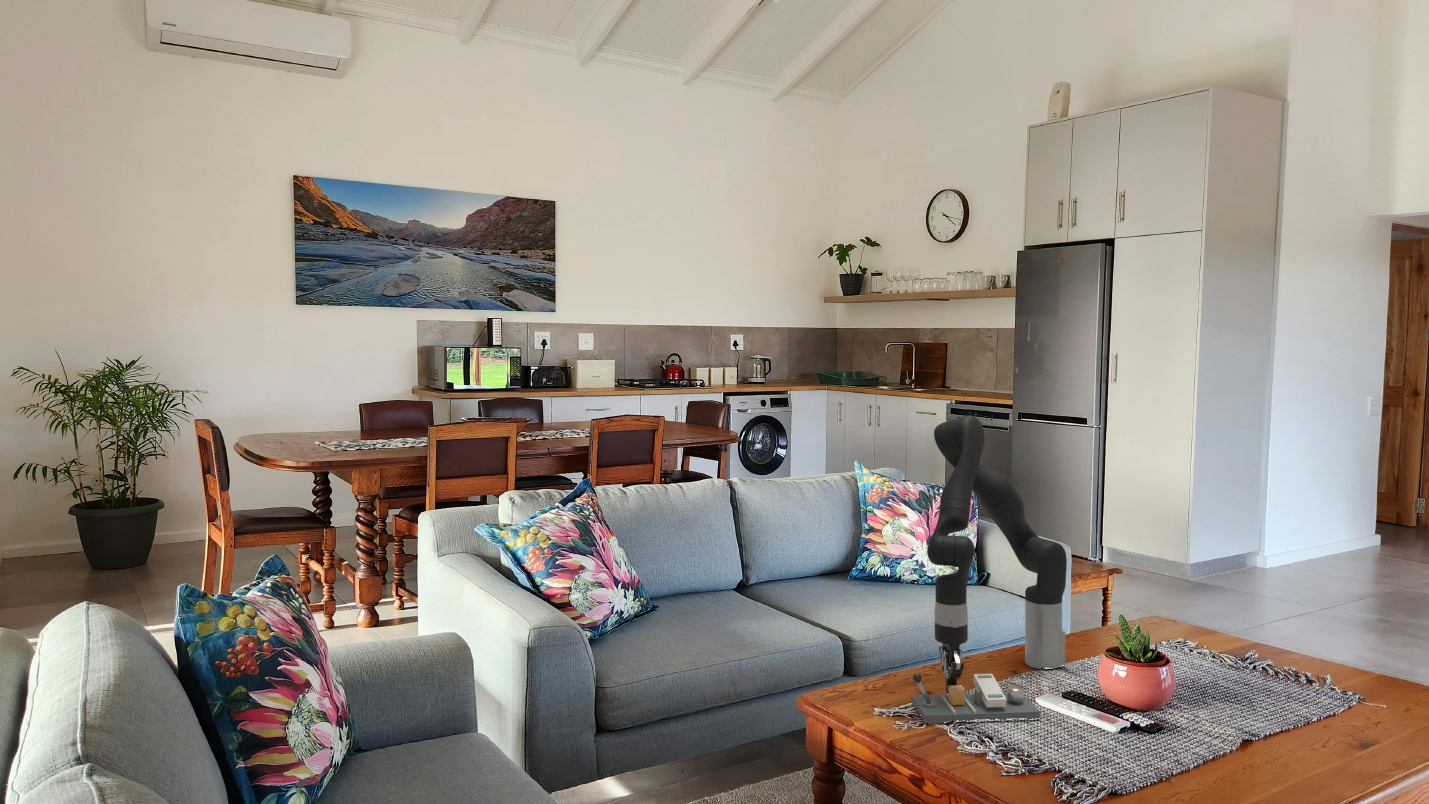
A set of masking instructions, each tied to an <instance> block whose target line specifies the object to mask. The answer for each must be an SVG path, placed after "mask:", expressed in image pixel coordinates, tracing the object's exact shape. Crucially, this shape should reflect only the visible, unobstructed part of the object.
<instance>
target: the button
mask: <svg viewBox="0 0 1429 804" xmlns="http://www.w3.org/2000/svg"><path fill="white" fill-rule="evenodd" d="M1006 693H1007V701H1008V702H1010V703H1013V704H1021V703H1023V695H1024V687H1022V686H1020V685H1014V684H1012V685H1008V686H1006Z"/></svg>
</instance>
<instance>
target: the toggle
mask: <svg viewBox="0 0 1429 804" xmlns="http://www.w3.org/2000/svg"><path fill="white" fill-rule="evenodd" d="M922 680H923V679H922V674H920V673H915V674H914V675H913V676H912V681H913V682H914V683H916V684H917V686H918V688H919V690H920V692H921V694H922V695H923V696H924V698H925V700H926V702H927V703H928V704H930V703H931V701H930V698H929V696H928V695H929V694H928V692H927V690H926V688H925V686H924V685H923V682H922Z"/></svg>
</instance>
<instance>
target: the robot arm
mask: <svg viewBox="0 0 1429 804" xmlns="http://www.w3.org/2000/svg"><path fill="white" fill-rule="evenodd" d="M933 437H934V441H935V444H936V446H937V448H938V450H939V451H940V453H941V454H942V456H943V457H944V458H945V459H946V461H947V462H948V463H949V464H950V465H951V467H953V469H954V470H953V472H952V473H951V475H950V477H949V478H948V480H947V482H946V483H945V485H944V487H943V489H942V492H941V495H940V502H939V511H938V518H937V520H936V521H937V522H936V525H935V527H934V530H933V533H932V534H931V536H930V538H929V541H928V544H927V547H926V555H927V558H928V560H929V561H930V563H931V564H933V565H936V566H945V567H957V568H958V569H957V570H956V571H954V572H953V573H952V572H951V573H947V574H941V575H938V576H937V577H936V579H935V605H934V639H935V641H937V642H938V643H940V644H942V645H939V647H938V650H939V658H940V661H941V670H942V671H943V672H944V675H943V676H944V677H945V692H946V693H947V695H949V686H948V685H958V684H957V683H958V682H957V681H958V679H959V680H960V679H961V677H962V673H963V670H964V668H965V663H964V661H961V659H962V657H963V655H962V654H963V653H962V652H963V651H962V650H961V647H960V646H961V645H963V644H966V643H967V641H968V640H969V638H968V637H969V636H968V635H969V632H968V631H969V629H968V626H969V621H968V618H969V616H968V615H969V614H968V613H969V611H968V606H967V605H968V602H967V585H968V577H969V572H970V569H971V565H972V563H973V559H974V555H975V545H974V542H973V541H972V539H971V538H970V537H968V536H965V535H964V536H963V535H951V534H953V533H958V532H962V531H964V530H966V529H967V528H968V526H969V524H970V513H971V499H972V493H974V494H975V496H976V497H977V499H978V501H979V503H981V505H982V507H983V509H985V511H986V512H987V513H988V515H989V516H990V518H992V520H993V522H994V523H995V524H996V526H997V527H998V528H999V530H1000V531H1001V533H1002V534H1003V535H1004V537H1005V538H1006V541H1007V542H1008V543H1009V545H1010V547H1011V549H1012V551H1013V552H1014V554H1015V556H1016V559H1017V560H1018V562H1019V563H1020V564H1021V566H1022V567H1023V568H1024V569H1026V570H1027V571H1030V572H1032V573H1035V574H1037V575H1036V583H1035V584H1033V585H1030V586H1028V587H1026V588H1025V592H1024V598H1025V599H1024V610H1025V611H1024V637H1025V638H1024V661H1025V662H1024V663H1025V665H1027V666H1028V667H1030V668H1034V669H1037V670H1042V669H1041V668H1046V667H1047V668H1048V667H1050V668H1054V667H1058V666H1061V665H1065V666H1066V632H1065V630H1064V629H1063V596H1064V592H1065V591H1066V586H1067V585H1066V584H1067V565H1068V564H1067V563H1068V558H1067V553H1066V550H1065V548H1064V546H1063V545H1062V544H1061V543H1059V542H1057V541H1053V540H1050V539H1045V538H1042V537H1040V536H1039V535H1038V534H1036V532H1034V530H1033V529H1032V527H1030V525H1029V523H1028V522H1027V520H1026V517H1025V516H1026V515H1025V504H1024V501H1023V499H1022V496H1021V495H1020V493H1019V492H1018V490H1017V489H1016V487H1015V486H1014V484H1013V482H1011V480H1010V479H1008V478H1007V477H1006V475H1004V474H1002V473H1000V472H999V471H997V470H995V469H993V468H992V467H989V466H987V465H985V464H984V463H982V462H980V461H981V458H982V453H983V450H984V445H985V429H984V426H983V424H982V422H981V421H980V420H979V419H978V418H977V417H976V416H974V415H965V416H961V417H957V418H954V419H951V420H947V421H944V422H942V423H939V424H937V425H936V427H935V428H934V429H933Z"/></svg>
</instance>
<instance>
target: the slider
mask: <svg viewBox="0 0 1429 804" xmlns="http://www.w3.org/2000/svg"><path fill="white" fill-rule="evenodd" d="M948 686H949V694H948V695H949V701H950V703H951V704H952V705H965V694H966V689H965V687H964V686H963V685H961V684H957V685H948Z"/></svg>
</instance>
